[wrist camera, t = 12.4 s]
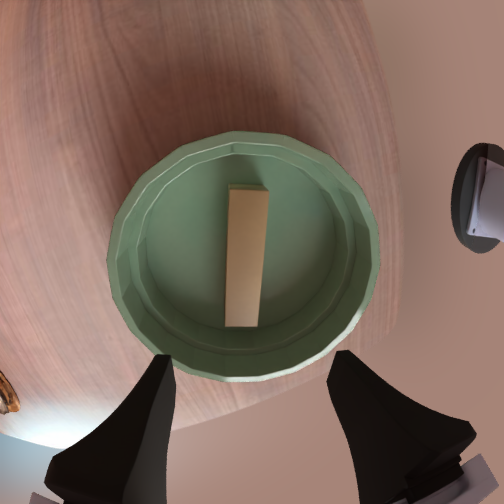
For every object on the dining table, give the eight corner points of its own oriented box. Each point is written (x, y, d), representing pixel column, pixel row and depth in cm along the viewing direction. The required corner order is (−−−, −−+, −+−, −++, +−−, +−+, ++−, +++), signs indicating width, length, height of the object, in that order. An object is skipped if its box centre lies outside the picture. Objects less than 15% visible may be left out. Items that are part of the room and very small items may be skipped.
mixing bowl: (359, 148, 17) (400, 153, 13) (326, 333, 23) (346, 373, 18) (130, 135, 16) (98, 134, 11) (145, 333, 21) (131, 377, 17)
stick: (264, 184, 17) (269, 190, 15) (254, 309, 20) (257, 327, 18) (228, 183, 17) (229, 188, 15) (224, 309, 20) (224, 327, 18)
